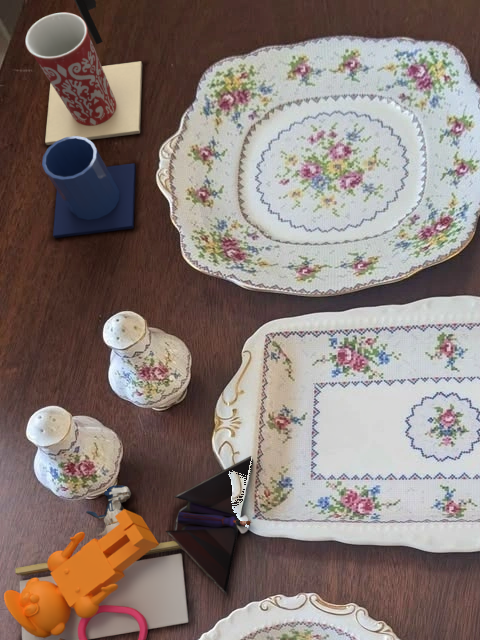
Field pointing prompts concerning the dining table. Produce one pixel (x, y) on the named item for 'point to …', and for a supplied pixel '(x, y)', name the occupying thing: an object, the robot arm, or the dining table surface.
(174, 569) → the sign holder
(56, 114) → the cream mat
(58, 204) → the navy mat
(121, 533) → the toy
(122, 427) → the dining table surface
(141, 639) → the fitness band
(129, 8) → the dining table surface
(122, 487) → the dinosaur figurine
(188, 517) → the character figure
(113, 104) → the mug
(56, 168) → the blue cup
